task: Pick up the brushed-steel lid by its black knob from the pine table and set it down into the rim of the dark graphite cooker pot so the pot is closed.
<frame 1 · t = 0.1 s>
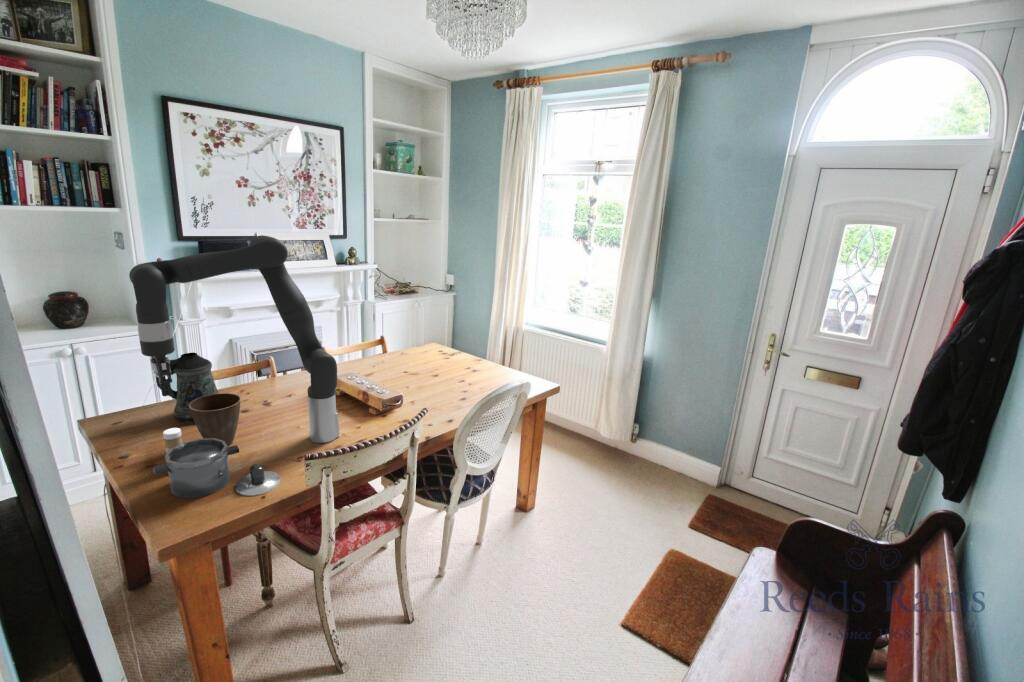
hand: (164, 390, 135), 29 cm above the table, fingers open, 8 cm apart
plant pot: (220, 443, 165), on the table
lid: (258, 484, 144), on the table
beer stein: (196, 416, 183), on the table
pot: (201, 483, 142), on the table
sprinkles bottle: (177, 469, 149), on the table
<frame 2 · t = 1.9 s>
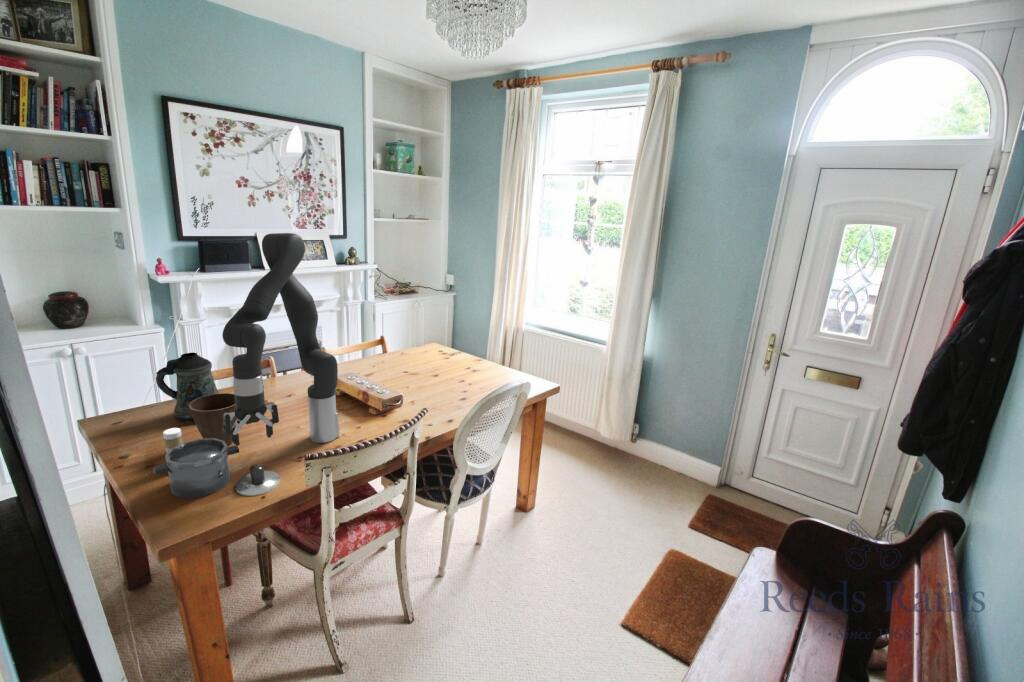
hand: (253, 440, 140), 15 cm above the table, fingers open, 8 cm apart
nothing on the table moved.
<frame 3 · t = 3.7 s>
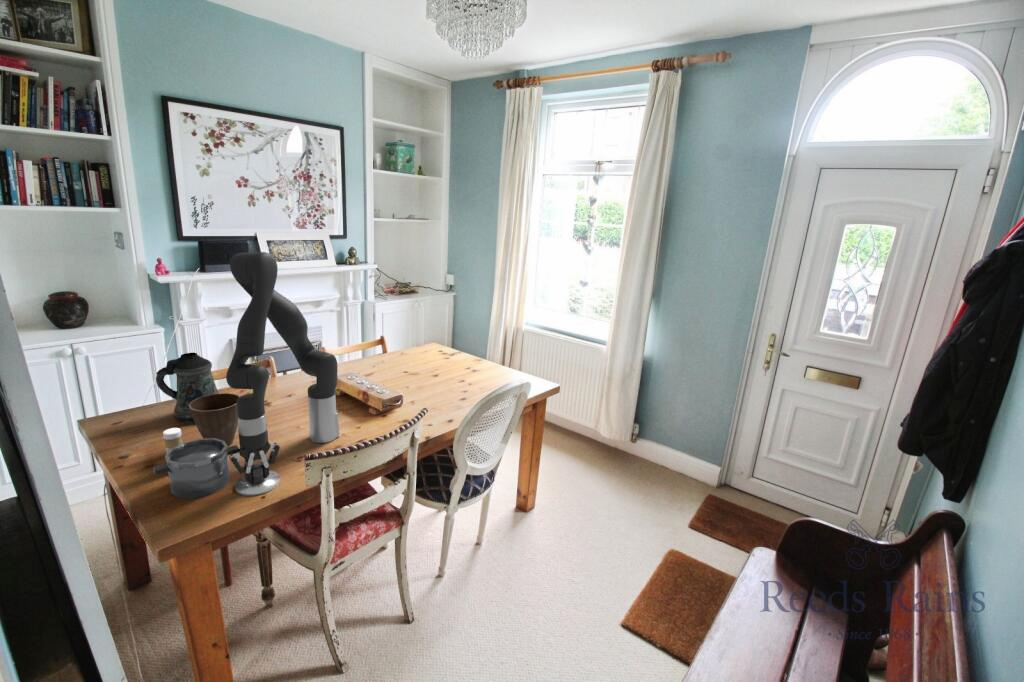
hand: (257, 479, 144), 2 cm above the table, fingers closed on lid, 3 cm apart
lid: (258, 484, 144), on the table, touching gripper
everything else where it was.
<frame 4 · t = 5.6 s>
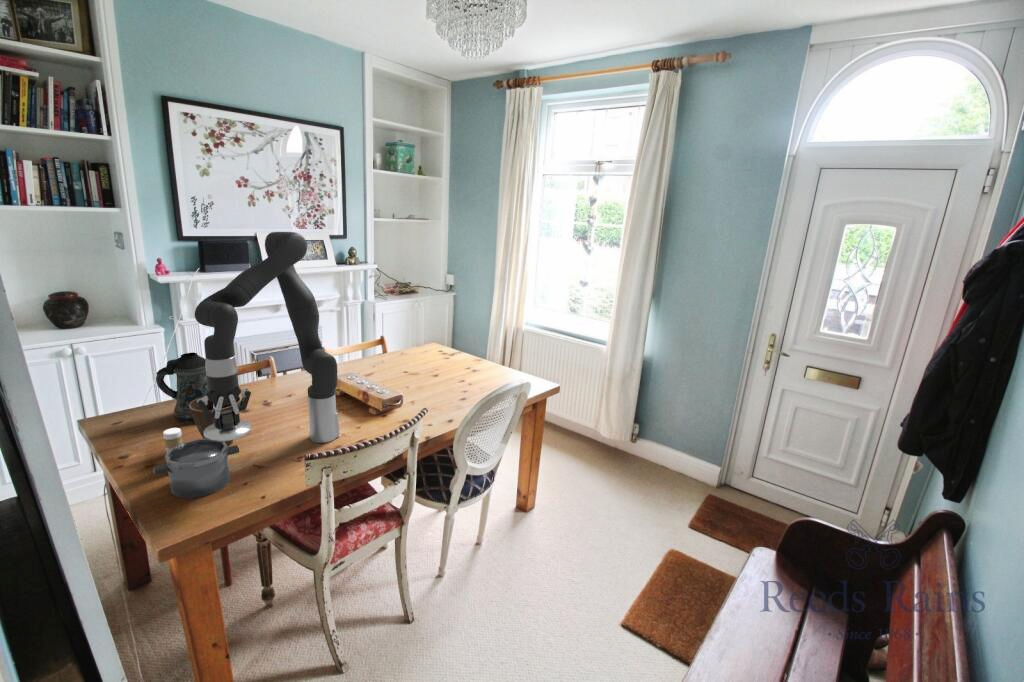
hand: (227, 426, 137), 20 cm above the table, fingers closed on lid, 3 cm apart
lid: (228, 431, 138), point 18 cm above the table, touching gripper
everything else where it was.
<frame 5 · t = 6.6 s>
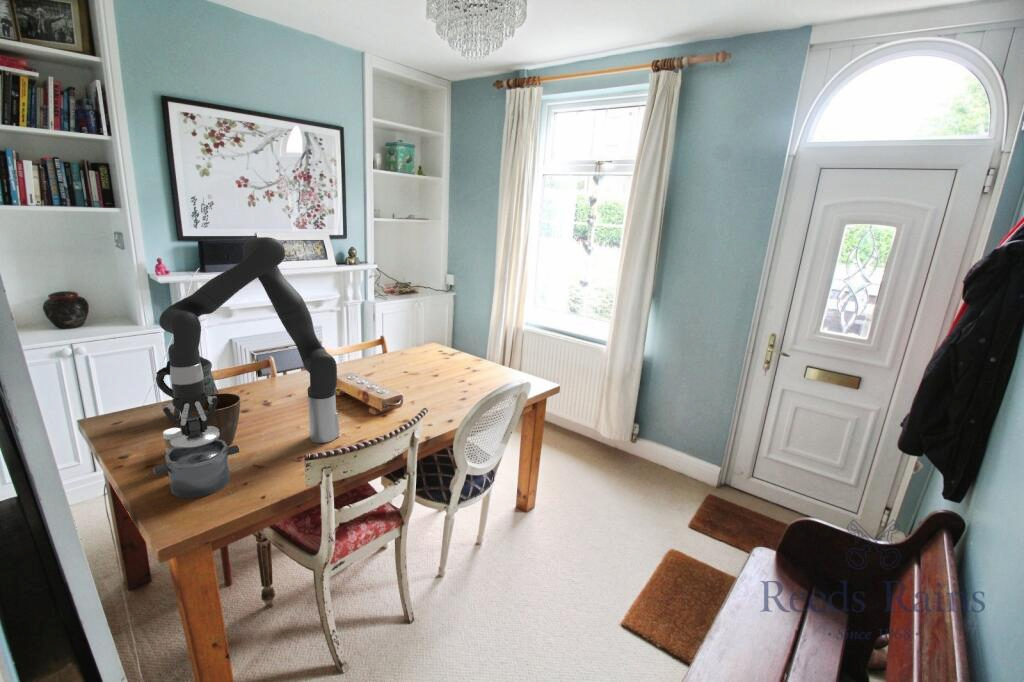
hand: (194, 433, 138), 17 cm above the table, fingers closed on lid, 3 cm apart
lid: (195, 438, 138), point 15 cm above the table, touching gripper
everything else where it was.
when the fingers open (13 cm above the table, at t = 7.5 s): lid drops 1 cm, resting on pot.
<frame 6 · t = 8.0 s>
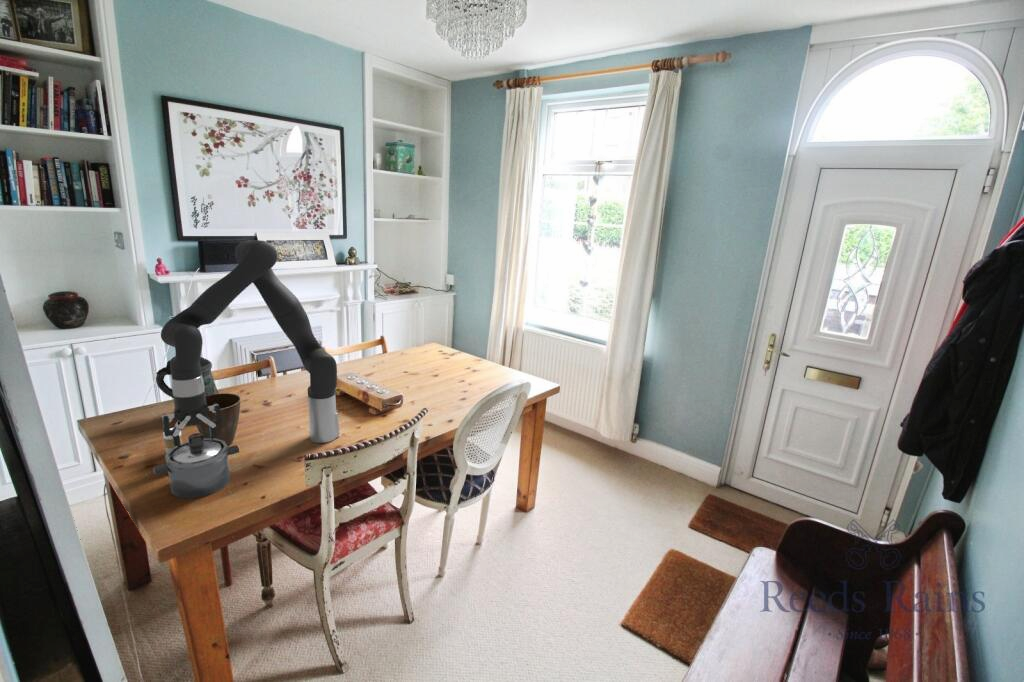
hand: (195, 441, 138), 14 cm above the table, fingers open, 8 cm apart
lid: (198, 454, 140), point 10 cm above the table, touching pot
everything else where it was.
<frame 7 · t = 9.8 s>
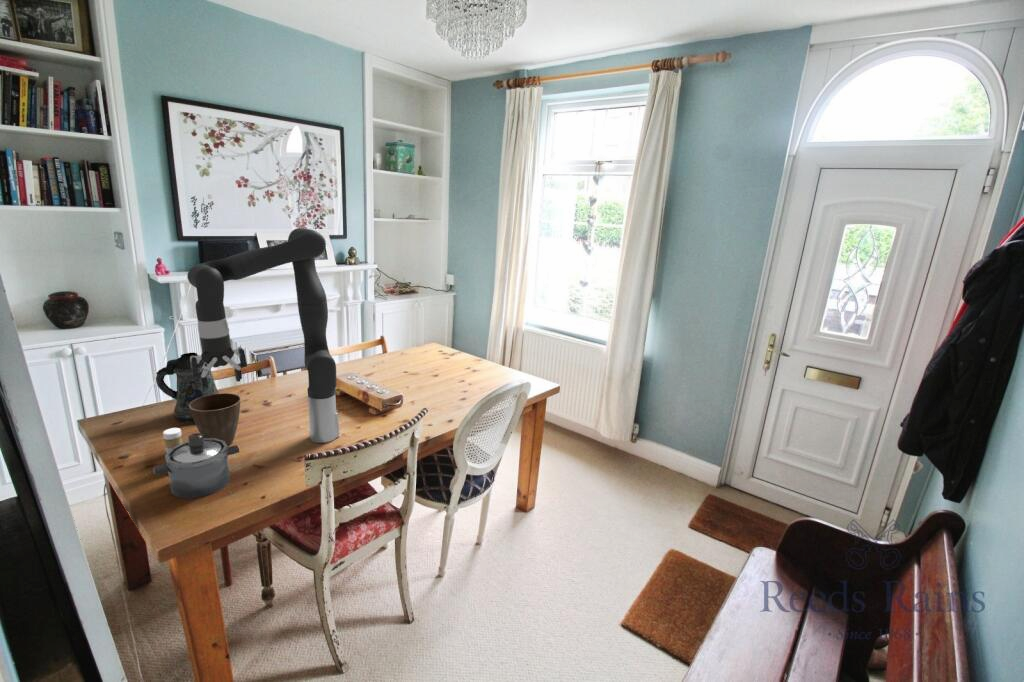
hand: (222, 384, 143), 29 cm above the table, fingers open, 8 cm apart
nothing on the table moved.
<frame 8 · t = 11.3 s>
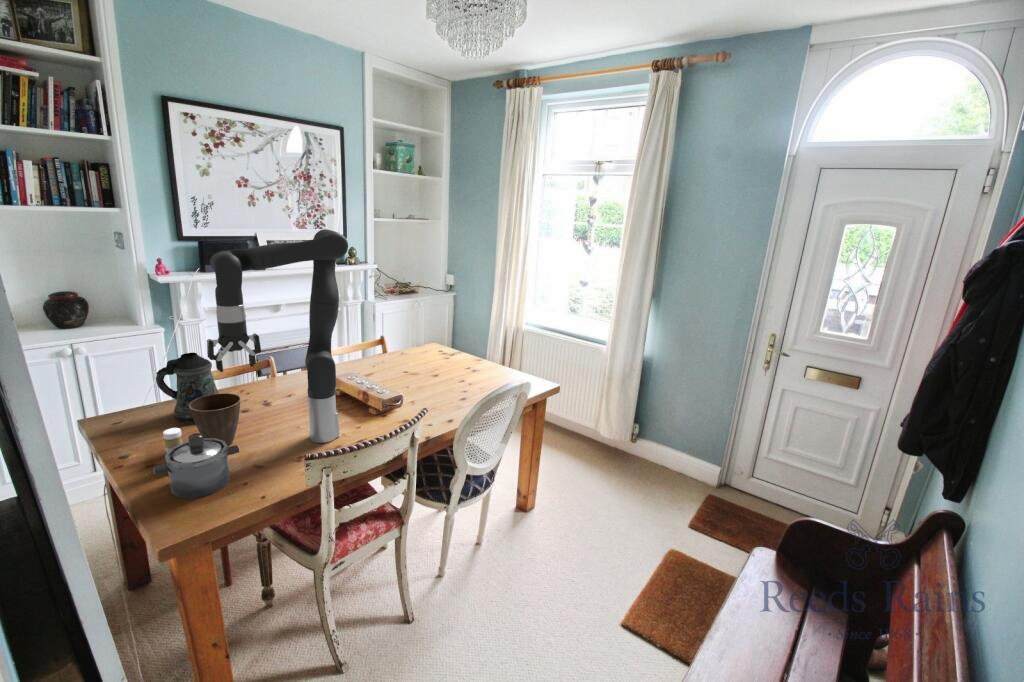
hand: (236, 368, 147), 32 cm above the table, fingers open, 8 cm apart
nothing on the table moved.
at the end: lid 0.1 cm off-centre on the pot, point 10.0 cm above the pot's base; lid tilted 0°; the gripper is holding nothing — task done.
